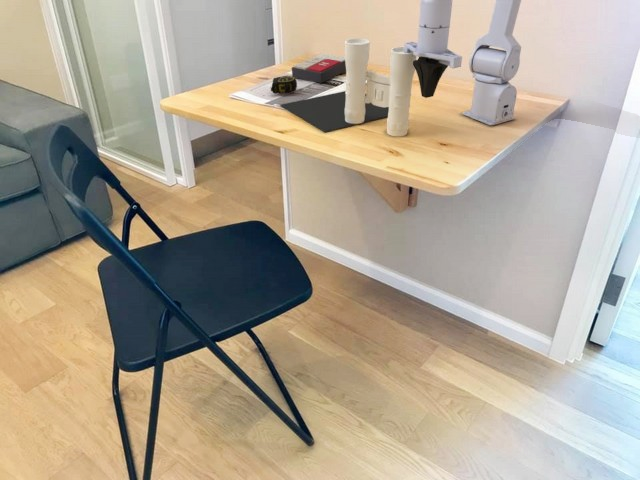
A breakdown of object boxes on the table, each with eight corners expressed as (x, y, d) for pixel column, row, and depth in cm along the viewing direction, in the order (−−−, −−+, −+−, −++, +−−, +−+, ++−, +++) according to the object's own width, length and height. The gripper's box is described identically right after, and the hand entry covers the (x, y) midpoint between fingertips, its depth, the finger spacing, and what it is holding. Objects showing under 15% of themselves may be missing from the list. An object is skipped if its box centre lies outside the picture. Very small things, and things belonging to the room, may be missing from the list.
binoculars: (413, 131, 118) (422, 49, 108) (401, 139, 115) (408, 55, 105) (352, 114, 127) (354, 36, 117) (338, 120, 124) (339, 41, 114)
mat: (404, 113, 129) (405, 111, 129) (325, 132, 119) (324, 131, 119) (354, 90, 145) (354, 89, 144) (280, 105, 135) (280, 104, 135)
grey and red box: (290, 65, 154) (320, 51, 163) (291, 79, 156) (321, 65, 166) (321, 70, 148) (350, 56, 158) (321, 85, 151) (350, 70, 160)
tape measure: (273, 88, 147) (272, 75, 145) (297, 88, 147) (297, 74, 145) (271, 96, 142) (270, 82, 139) (296, 96, 141) (295, 82, 139)
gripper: (393, 21, 103) (389, 90, 110) (444, 34, 92) (436, 109, 100) (421, 17, 106) (416, 84, 113) (474, 29, 95) (464, 103, 103)
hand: (427, 96), depth 107 cm, fingers closed
